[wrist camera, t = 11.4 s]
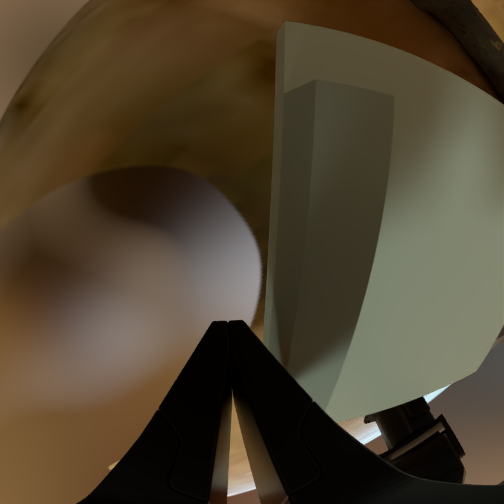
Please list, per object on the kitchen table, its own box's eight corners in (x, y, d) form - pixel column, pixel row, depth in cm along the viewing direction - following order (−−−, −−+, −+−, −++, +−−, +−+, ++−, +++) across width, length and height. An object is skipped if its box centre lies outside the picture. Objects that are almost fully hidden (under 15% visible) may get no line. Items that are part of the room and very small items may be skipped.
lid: (469, 362, 14) (491, 390, 11) (256, 419, 12) (266, 472, 10) (541, 142, 7) (580, 156, 5) (276, 32, 6) (314, -19, 3)
